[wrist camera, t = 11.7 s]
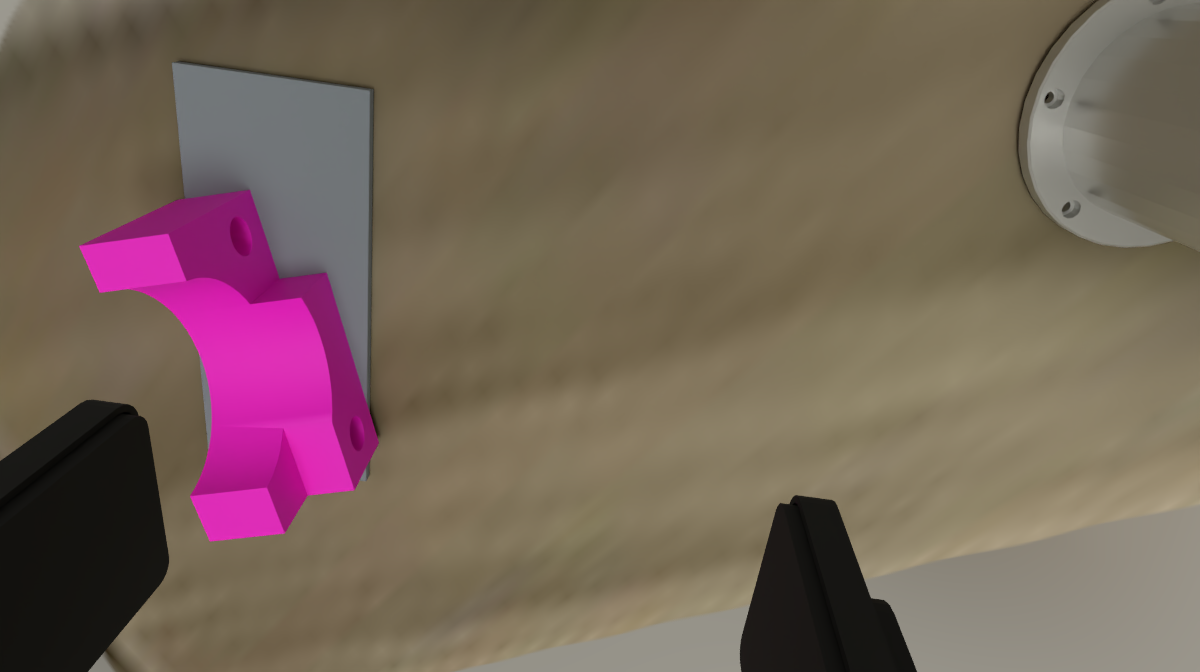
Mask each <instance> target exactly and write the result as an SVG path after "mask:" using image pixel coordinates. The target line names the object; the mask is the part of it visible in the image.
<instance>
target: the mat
mask: <svg viewBox="0 0 1200 672" xmlns="http://www.w3.org/2000/svg"><path fill="white" fill-rule="evenodd" d="M172 68H173V78H174V89H175V99H176V110H177V121H178V131H179V142H180V153H181V163H182V174H183V185H184V195H185V199H188V198H195V197H202V196H209V195H216V194H223V193H231V192H238V191H245V190H250V191H251V194H252V197H253V200H254V203H255V206H256V209H257V212H258V215H259V218H260V221H261V224H262V227H263V230H264V233H265V236H266V239H267V242H268V245H269V248H270V251H271V254H272V257H273V260H274V263H275V266H276V269H277V272H278V275H279V278H280V279H282V278H290V277H297V276H305V275H312V274H320V273H327V275H328V278H329V282H330V285H331V288H332V291H333V295H334V298H335V301H336V305H337V308H338V311H339V314H340V318H341V321H342V324H343V327H344V331H345V334H346V337H347V340H348V344H349V347H350V350H351V353H352V357H353V360H354V363H355V367H356V370H357V373H358V376H359V380H360V383H361V386H362V389H363V393H364V396H365V399H366V402H367V405H368V409H369V412H370V354H371V267H372V179H373V92H374V89H368V88H361V87H354V86H347V85H340V84H333V83H326V82H319V81H312V80H305V79H298V78H291V77H284V76H277V75H270V74H263V73H256V72H249V71H242V70H235V69H228V68H221V67H214V66H207V65H200V64H193V63H186V62H179V61H178V62H172ZM200 366H201V376H202V387H203V398H204V408H205V419H206V430H207V440H208V450H209V444H210V437H211V424H212V412H211V399H210V391H209V385H208V380H207V376H206V372H205V369H204V366H203V363H202V360H201V357H200ZM368 477H369V463H368V465H367V467H366V469H365V471H364V473H363V475H362V477H361V479H360V481H367V479H368Z"/></svg>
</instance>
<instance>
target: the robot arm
mask: <svg viewBox="0 0 1200 672" xmlns="http://www.w3.org/2000/svg"><path fill="white" fill-rule="evenodd" d="M1047 93H1049V97H1048V99H1047V100H1046V101H1045V97H1046V95H1047ZM1019 158H1020V164H1021V169H1022V175H1023V178H1024V180H1025V183H1026V185H1027V187H1028V190H1029V192H1030V194H1031V196H1032V198H1033V199H1034V201H1035V202H1036V203H1037V205H1038V206H1039V207H1040V209H1041V210H1042V211H1043V213H1044V214H1045V215H1047V216H1048V217H1049V218H1050V219H1051V220H1053V221H1054V222H1055V223H1056V224H1057V225H1059V226H1060V227H1061V228H1063V229H1065V230H1067V231H1069V232H1071V233H1073V234H1075V235H1076V236H1078V237H1080V238H1083V239H1086V240H1089V241H1092V242H1094V243H1097V244H1100V245H1107V246H1114V247H1121V248H1130V247H1149V246H1153V245H1158V244H1163V243H1167V242H1172V241H1176V242H1178V243H1180V244H1183V245H1185V246H1187V247H1190V248H1192V249H1194V250H1197V251H1199V252H1200V0H1099V1H1097V2H1096V3H1094V4H1093V5H1092V6H1091V7H1090V8H1089V9H1088V10H1087V11H1085V12H1084V13H1083V14H1082V15H1081V16H1080V17H1079V18H1078V19H1077V20H1075V21H1074V22H1073V23H1072V24H1071V25H1070V26H1069V28H1068V29H1067V30H1066V31H1065V33H1064V34H1063V35H1062V36H1061V37H1060V39H1059V40H1058V41H1057V42H1056V43H1055V45H1054V46H1053V47H1052V48H1051V50H1050V52H1049V53H1048V55H1047V56H1046V58H1045V60H1044V61H1043V63H1042V65H1041V66H1040V68H1039V70H1038V71H1037V73H1036V75H1035V78H1034V80H1033V82H1032V85H1031V87H1030V90H1029V92H1028V95H1027V97H1026V100H1025V103H1024V108H1023V112H1022V117H1021V122H1020V126H1019ZM1064 205H1065V206H1064ZM1063 206H1064V207H1063ZM168 565H169V554H168V548H167V542H166V535H165V529H164V523H163V516H162V510H161V504H160V498H159V491H158V485H157V479H156V472H155V466H154V460H153V454H152V447H151V441H150V435H149V428H148V424H147V421H146V420H145V419H144V418H143V417H141V416H139V415H138V412H137V411H136V409H135V408H134V407H133V406H131V405H128V404H121V403H113V402H106V401H99V400H86V401H84V402H82V403H80V404H79V405H77V406H76V407H75V408H73V409H72V410H71V411H69V412H68V413H66V414H65V415H64V416H62V417H61V418H59V419H58V420H57V421H55V422H54V423H52V424H51V425H50V426H48V427H47V428H46V429H44V430H43V431H41V432H40V433H39V434H37V435H36V436H34V437H33V438H32V439H30V440H29V441H27V442H26V443H25V444H23V445H22V446H21V447H19V448H18V449H16V450H15V451H14V452H12V453H11V454H9V455H8V456H7V457H5V458H4V459H2V460H1V461H0V672H88V671H89V670H90V668H91V667H92V666H93V665H94V664H95V662H96V661H97V660H98V659H99V657H100V656H101V655H102V654H103V653H104V651H105V650H106V649H107V648H108V647H109V645H110V644H111V643H112V642H113V641H114V639H115V638H116V637H117V636H118V635H119V633H120V632H121V631H122V630H123V629H124V627H125V626H126V625H127V624H128V623H129V621H130V620H131V619H132V618H133V617H134V615H135V614H136V613H137V612H138V610H139V609H140V608H141V607H142V606H143V604H144V603H145V602H146V601H147V600H148V598H149V597H150V596H151V595H152V594H153V592H154V591H155V590H156V589H157V588H158V586H159V585H160V584H161V582H162V581H163V579H164V577H165V575H166V572H167V569H168ZM740 664H741V671H742V672H917V671H916V668H915V665H914V663H913V660H912V658H911V655H910V653H909V650H908V648H907V645H906V642H905V640H904V637H903V635H902V633H901V630H900V627H899V625H898V622H897V619H896V617H895V614H894V612H893V611H892V609H891V607H890V605H889V604H888V603H887V602H885V601H884V600H879V599H872V598H871V597H870V595H869V592H868V589H867V586H866V584H865V581H864V578H863V575H862V573H861V570H860V567H859V564H858V562H857V559H856V556H855V553H854V551H853V548H852V545H851V542H850V540H849V537H848V534H847V531H846V529H845V526H844V523H843V520H842V518H841V515H840V512H839V509H838V507H837V505H836V503H835V502H834V501H833V500H827V499H820V498H813V497H805V496H798V495H796V496H793V498H792V500H791V502H790V504H783V503H780V504H779V505H778V507H777V509H776V512H775V516H774V520H773V523H772V527H771V531H770V534H769V538H768V542H767V545H766V549H765V553H764V556H763V560H762V564H761V567H760V571H759V575H758V578H757V582H756V586H755V589H754V593H753V597H752V601H751V604H750V608H749V612H748V615H747V619H746V623H745V626H744V630H743V634H742V639H741V645H740Z"/></svg>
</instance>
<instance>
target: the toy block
mask: <svg viewBox="0 0 1200 672" xmlns="http://www.w3.org/2000/svg"><path fill="white" fill-rule="evenodd" d="M79 247H80V249H81V251H82V253H83V256H84V258H85V260H86V262H87V265H88V267H89V269H90V272H91V274H92V276H93V278H94V281H95V283H96V285H97V287H98V290H99V292H100V293H101V292H109V291H116V290H124V289H130V290H136V291H139V292H142V293H145V294H147V295H149V296H151V297H153V298H155V299H156V300H158V301H160V302H161V303H162V304H164V305H165V306H166V307H167V308H169V309H170V310H171V311H172V312H173V313H174V314H175V315H176V317H177V318H178V319H179V320H180V321H181V323H182V324H183V325H184V327H185V328H186V330H187V331H188V333H189V335H190V336H191V338H192V340H193V342H194V344H195V346H196V348H197V350H198V352H199V355H200V357H201V360H202V363H203V366H204V369H205V372H206V376H207V380H208V385H209V391H210V399H211V412H212V424H211V437H210V444H209V450H208V454H207V459H206V462H205V465H204V469H203V471H202V474H201V476H200V479H199V481H198V483H197V485H196V487H195V489H194V491H193V492H192V494H191V495H190V497H191V500H192V502H193V504H194V506H195V509H196V511H197V513H198V515H199V518H200V520H201V522H202V524H203V527H204V529H205V531H206V533H207V536H208V538H209V540H210V541H219V540H228V539H237V538H246V537H255V536H265V535H274V534H283V533H285V532H286V530H287V529H288V527H289V525H290V524H291V522H292V520H293V519H294V517H295V516H296V514H297V512H298V511H299V509H300V507H301V506H302V504H303V502H304V501H305V499H306V497H307V496H308V495H316V494H325V493H334V492H343V491H352V490H355V488H356V486H357V484H358V482H359V480H360V479H361V477H362V475H363V473H364V471H365V469H366V467H367V465H368V463H369V461H370V459H371V457H372V455H373V453H374V451H375V449H376V447H377V445H378V444H379V441H378V438H377V435H376V432H375V428H374V425H373V422H372V418H371V415H370V412H369V409H368V405H367V402H366V399H365V396H364V393H363V389H362V386H361V383H360V380H359V376H358V373H357V370H356V367H355V363H354V360H353V357H352V353H351V350H350V347H349V344H348V340H347V337H346V334H345V331H344V327H343V324H342V321H341V318H340V314H339V311H338V308H337V305H336V301H335V298H334V295H333V291H332V288H331V285H330V282H329V278H328V275H327V273H320V274H312V275H305V276H297V277H290V278H282V279H280V278H279V275H278V272H277V269H276V266H275V263H274V260H273V257H272V254H271V251H270V248H269V245H268V242H267V239H266V236H265V233H264V230H263V227H262V224H261V221H260V218H259V215H258V212H257V209H256V206H255V203H254V200H253V197H252V194H251V191H250V190H245V191H238V192H231V193H223V194H216V195H209V196H202V197H195V198H188V199H180V200H176V201H174V202H172V203H170V204H167V205H165V206H163V207H161V208H159V209H157V210H155V211H153V212H150V213H148V214H146V215H144V216H142V217H140V218H138V219H136V220H133V221H131V222H129V223H127V224H125V225H123V226H121V227H119V228H116V229H114V230H112V231H110V232H108V233H106V234H104V235H102V236H99V237H97V238H95V239H93V240H91V241H89V242H87V243H85V244H82V245H80V246H79Z"/></svg>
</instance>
